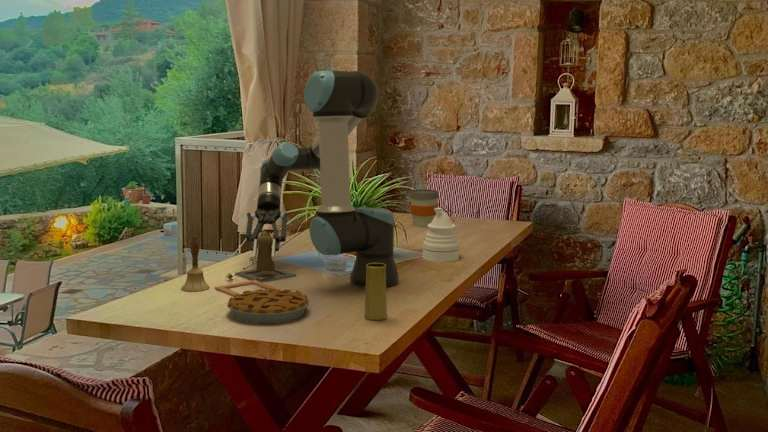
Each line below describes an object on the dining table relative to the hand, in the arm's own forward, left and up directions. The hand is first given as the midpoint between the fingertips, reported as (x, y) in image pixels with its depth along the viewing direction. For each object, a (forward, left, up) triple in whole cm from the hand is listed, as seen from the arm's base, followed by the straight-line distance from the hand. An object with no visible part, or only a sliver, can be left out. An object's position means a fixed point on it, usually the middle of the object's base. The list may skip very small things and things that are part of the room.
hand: (263, 258), depth 253 cm
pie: (-33, +20, -7) cm, 39 cm away
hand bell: (+2, +23, -7) cm, 24 cm away
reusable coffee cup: (+37, -104, -7) cm, 111 cm away
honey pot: (-13, -65, -7) cm, 67 cm away
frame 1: (-9, +12, -6) cm, 16 cm away
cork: (+3, -2, -5) cm, 6 cm away
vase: (-54, 0, -7) cm, 55 cm away
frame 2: (+3, -2, -6) cm, 7 cm away
